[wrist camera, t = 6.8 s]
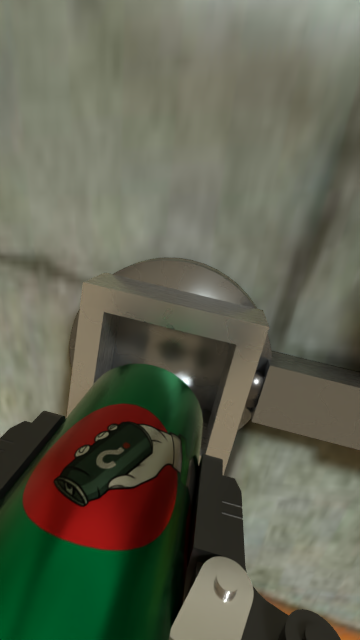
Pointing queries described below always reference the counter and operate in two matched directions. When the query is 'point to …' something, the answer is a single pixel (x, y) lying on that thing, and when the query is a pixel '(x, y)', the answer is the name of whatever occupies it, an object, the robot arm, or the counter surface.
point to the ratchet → (208, 353)
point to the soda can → (104, 515)
